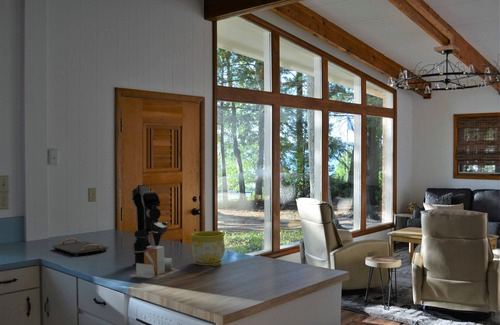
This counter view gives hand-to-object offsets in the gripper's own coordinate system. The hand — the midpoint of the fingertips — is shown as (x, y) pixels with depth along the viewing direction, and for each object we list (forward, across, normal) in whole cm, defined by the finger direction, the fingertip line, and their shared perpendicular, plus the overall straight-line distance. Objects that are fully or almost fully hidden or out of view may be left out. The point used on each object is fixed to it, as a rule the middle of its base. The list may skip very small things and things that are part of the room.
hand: (151, 248), depth 262 cm
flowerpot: (+13, +30, -15) cm, 36 cm away
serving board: (+14, +34, +82) cm, 90 cm away
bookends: (+12, 0, -2) cm, 12 cm away
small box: (+12, 0, -2) cm, 12 cm away
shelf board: (+13, 0, -2) cm, 13 cm away
